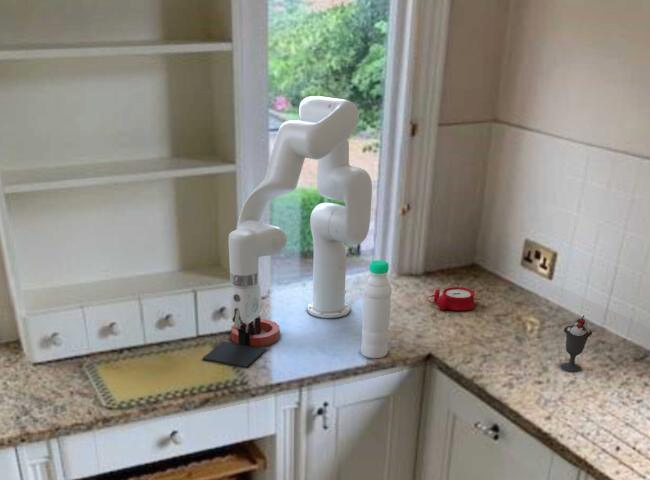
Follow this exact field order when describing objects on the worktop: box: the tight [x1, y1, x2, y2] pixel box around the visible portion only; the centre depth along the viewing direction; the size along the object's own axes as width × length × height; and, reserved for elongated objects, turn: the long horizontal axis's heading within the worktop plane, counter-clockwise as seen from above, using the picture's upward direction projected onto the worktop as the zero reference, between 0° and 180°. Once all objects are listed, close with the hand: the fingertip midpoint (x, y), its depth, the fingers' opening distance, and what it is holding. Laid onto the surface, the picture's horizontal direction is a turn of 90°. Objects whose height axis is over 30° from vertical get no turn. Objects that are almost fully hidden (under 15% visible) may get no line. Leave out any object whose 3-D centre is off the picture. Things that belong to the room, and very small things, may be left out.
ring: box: [230, 318, 281, 348], centre depth 223 cm, size 13×13×3 cm
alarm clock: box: [426, 286, 482, 312], centre depth 240 cm, size 10×6×15 cm
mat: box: [202, 341, 267, 369], centre depth 213 cm, size 12×13×1 cm
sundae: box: [560, 314, 593, 373], centre depth 200 cm, size 7×7×15 cm
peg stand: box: [254, 315, 268, 335], centre depth 223 cm, size 5×5×6 cm
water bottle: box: [360, 259, 393, 359], centre depth 206 cm, size 7×7×25 cm
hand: (246, 342), depth 219 cm, fingers closed on ring, 2 cm apart
